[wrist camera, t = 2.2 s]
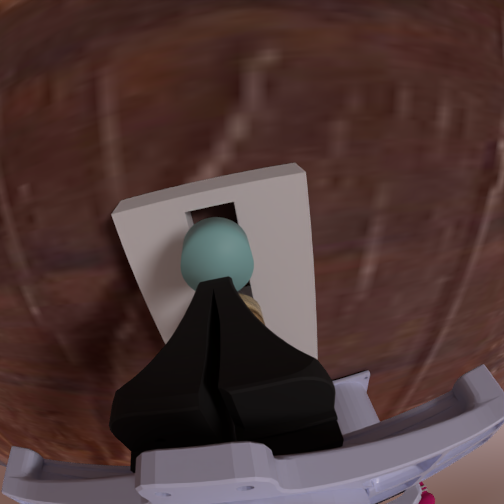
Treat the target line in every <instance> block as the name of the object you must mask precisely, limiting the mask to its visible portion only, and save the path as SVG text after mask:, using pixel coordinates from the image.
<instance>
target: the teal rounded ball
mask: <svg viewBox="0 0 504 504" xmlns="http://www.w3.org/2000/svg"><path fill="white" fill-rule="evenodd" d="M180 267H181V273H182V276H183V279H184V280H185V282H186V283H187V284H188V286H190V287H191V288H192V289H193V290H194V291H196V289H197V286H198V284H199V283H200V282H203V281H207V280H212V279H217V278H222V277H227V276H229V277H231V278H232V281H233V284H234V286H235V288H236V290H237V291H239V290H240V289H241V288H243V287H244V286H245V285H246V284H247V283H248V281H249V280H250V278H251V276H252V273H253V269H254V260H253V256H252V252H251V249H250V245H249V242H248V238H247V235H246V233H245V232H244V230H243V229H242V228H241V227H240V226H239V225H238V224H237V223H235V222H234V221H232V220H229V219H226V218H221V217H211V218H207V219H203V220H201V221H199V222H197V223H196V224H194V225H193V226H192V227H191V228H190V229H189V230H188V232H187V233H186V235H185V238H184V241H183V247H182V255H181V265H180Z"/></svg>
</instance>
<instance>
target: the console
mask: <svg viewBox="0 0 504 504" xmlns="http://www.w3.org/2000/svg"><path fill="white" fill-rule="evenodd" d="M230 202H234V207H235V212H236V217H237V222H238V225H239V226H240V227H241V228H242V229H243V230H244V232H245V233H246V235H247V238H248V242H249V245H250V249H251V252H252V256H253V260H254V269H253V273H252V276H251V278H250V280H249V282H250V286H247V287H243V288H241V289H242V290H243V293H244V295H247V296H250V297H252V298H253V299H254V300H256V301H257V302H258V304H259V305H260V307H261V311H262V315H263V318H264V322H265V326H266V327H267V328H268V329H270V330H271V331H272V332H273V333H274V334H276V335H277V336H278V337H280V338H281V339H283V340H284V341H285V342H287V343H288V344H290V345H291V346H293V347H295V348H296V349H298V350H300V351H302V352H304V353H306V354H308V355H310V356H312V357H314V358H316V359H317V323H316V299H315V280H314V263H313V249H312V235H311V223H310V211H309V200H308V189H307V180H306V172H305V171H304V170H303V169H301V168H300V167H299V166H298V165H297V164H296V163H290V164H284V165H279V166H273V167H267V168H262V169H256V170H251V171H246V172H241V173H235V174H230V175H226V176H221V177H216V178H211V179H207V180H202V181H198V182H193V183H189V184H184V185H180V186H176V187H172V188H168V189H164V190H160V191H156V192H152V193H148V194H144V195H140V196H136V197H132V198H129V199H125V200H121V201H120V203H119V204H118V206H117V207H116V208H115V210H114V211H113V213H112V214H111V215H112V218H113V221H114V224H115V227H116V229H117V232H118V235H119V238H120V240H121V243H122V246H123V248H124V251H125V253H126V256H127V258H128V261H129V264H130V266H131V269H132V271H133V273H134V276H135V278H136V281H137V283H138V285H139V288H140V290H141V292H142V295H143V297H144V299H145V302H146V304H147V306H148V308H149V311H150V313H151V315H152V317H153V319H154V322H155V324H156V326H157V328H158V330H159V332H160V334H161V336H162V338H163V340H164V343H165V345H166V343H167V342H168V341H169V339H170V338H171V336H172V335H173V333H174V332H175V330H176V329H177V327H178V325H179V323H180V322H181V320H182V318H183V316H184V315H185V313H186V311H187V309H188V307H189V305H190V303H191V300H192V298H193V296H194V294H195V291H194V290H193V289H192V288H191V287H190V286H188V284H187V283H186V282H185V280H184V279H183V276H182V273H181V267H180V265H181V255H182V247H183V241H184V238H185V235H186V233H187V232H188V230H189V229H190V228H191V227H192V226H193V225H194V224H193V220H192V216H191V212H190V211H193V210H197V209H202V208H207V207H211V206H216V205H221V204H225V203H230Z"/></svg>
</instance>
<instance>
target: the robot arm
mask: <svg viewBox="0 0 504 504" xmlns="http://www.w3.org/2000/svg"><path fill="white" fill-rule="evenodd" d="M369 377H370V372H369V371H364V372H361V373H358V374H354V375H351V376H348V377H345V378H341V379H338V380H335V381H332V380H331V378H330V376H329V375H328V373H327V372H326V370H325V369H324V368H323V366H322V365H321V364H320V363H319V361H318V360H317V359H316V358H314V357H312V356H310V355H308V354H306V353H304V352H302V351H300V350H298V349H296V348H295V347H293V346H291V345H290V344H288V343H287V342H285V341H284V340H283V339H281V338H280V337H278V336H277V335H276V334H274V333H273V332H272V331H271V330H270V329H268V328H267V327H266V326H265V325H264V324H263V323H262V322H261V321H260V320H259V319H258V318H257V317H256V316H255V315H254V314H253V313H252V311H251V310H250V309H249V308H248V306H247V305H246V304H245V302H244V301H243V300H242V298H241V297H240V295H239V294H238V292H237V290H236V288H235V286H234V284H233V281H232V278H231V277H229V276H227V277H222V278H217V279H212V280H207V281H203V282H200V283H199V284H198V286H197V289H196V291H195V294H194V296H193V298H192V300H191V303H190V305H189V307H188V309H187V311H186V313H185V315H184V316H183V318H182V320H181V322H180V323H179V325H178V327H177V329H176V330H175V332H174V333H173V335H172V336H171V338H170V339H169V341H168V342H167V343H166V345H165V346H164V347H163V348H162V350H161V351H160V352H159V353H158V354H157V355H156V357H155V358H154V359H153V360H152V361H151V362H150V363H149V364H148V365H147V366H146V367H145V368H144V369H143V370H142V371H141V372H140V373H139V374H137V375H136V376H135V377H134V378H133V379H131V380H130V381H129V382H128V383H126V384H125V385H124V386H122V387H121V388H120V389H118V390H117V391H116V393H115V396H114V400H113V404H112V409H111V415H110V422H109V427H110V430H111V432H112V433H113V434H114V435H115V437H116V438H117V439H119V440H120V441H121V442H122V443H123V444H124V445H125V446H126V447H127V448H128V449H129V450H130V451H132V452H131V466H108V465H92V464H80V463H71V462H62V461H55V460H48V459H43V457H42V456H40V455H39V454H38V453H37V452H35V451H33V450H31V449H28V448H22V447H17V446H12V448H11V452H10V455H9V459H8V463H7V468H6V472H5V477H4V481H3V486H2V493H3V494H4V495H6V496H8V497H10V498H11V499H13V500H15V501H16V502H18V503H20V504H378V503H381V502H383V501H385V500H388V499H390V498H392V497H394V496H396V495H399V494H401V493H403V492H404V494H403V495H402V496H400V497H399V498H397V499H395V500H393V501H391V502H389V503H386V504H418V503H419V501H420V500H421V494H422V489H421V487H420V484H419V483H420V482H421V481H423V480H425V479H427V478H429V477H430V476H432V475H434V474H436V473H438V472H439V471H441V470H443V469H444V468H446V467H448V466H449V465H451V464H453V463H454V462H456V461H458V460H459V459H461V458H462V457H464V456H465V455H467V454H469V453H470V452H472V451H473V450H475V449H477V448H478V447H480V446H481V445H483V444H484V443H486V442H487V441H488V440H489V439H490V438H491V437H492V436H493V435H494V434H495V433H496V432H497V430H498V429H499V428H500V427H501V426H502V425H503V424H504V392H503V390H502V389H501V387H500V386H499V384H498V383H497V382H496V380H495V379H494V377H493V376H492V375H491V373H490V372H489V370H488V369H487V368H486V366H485V365H484V364H482V365H480V366H478V367H476V368H475V369H473V370H471V371H469V372H467V373H465V374H464V375H462V376H461V377H460V378H459V379H458V380H457V381H456V382H455V384H454V386H453V389H452V390H451V391H449V392H447V393H446V394H444V395H441V396H439V397H437V398H435V399H433V400H431V401H429V402H427V403H425V404H422V405H420V406H418V407H416V408H413V409H411V410H409V411H407V412H404V413H402V414H399V415H397V416H394V417H392V418H389V419H387V420H384V421H381V422H380V421H379V419H378V417H377V415H376V413H375V410H374V408H373V406H372V404H371V402H370V400H369V397H368V395H367V393H366V391H367V387H368V382H369Z"/></svg>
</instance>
